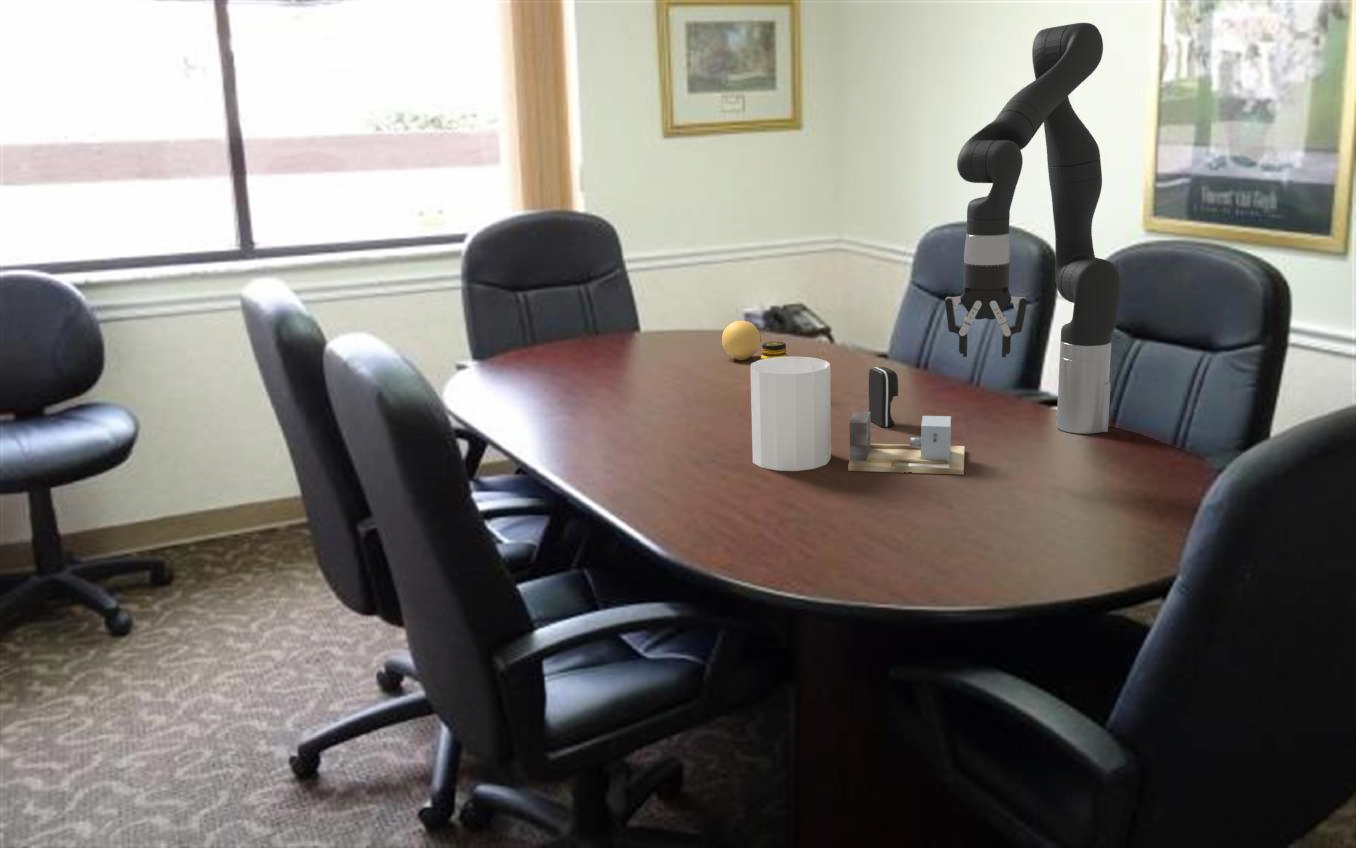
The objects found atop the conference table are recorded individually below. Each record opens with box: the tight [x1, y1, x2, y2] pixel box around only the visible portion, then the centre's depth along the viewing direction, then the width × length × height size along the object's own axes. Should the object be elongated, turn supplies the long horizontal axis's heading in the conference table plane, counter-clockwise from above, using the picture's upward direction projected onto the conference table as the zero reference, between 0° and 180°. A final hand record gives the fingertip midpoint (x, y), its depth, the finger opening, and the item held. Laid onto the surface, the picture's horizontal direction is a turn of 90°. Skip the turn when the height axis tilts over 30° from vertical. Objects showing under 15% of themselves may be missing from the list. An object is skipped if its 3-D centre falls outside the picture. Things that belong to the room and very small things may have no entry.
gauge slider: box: [909, 415, 952, 462], centre depth 212 cm, size 7×10×6 cm, turn 166°
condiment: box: [760, 340, 789, 360], centre depth 266 cm, size 7×8×12 cm
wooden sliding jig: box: [847, 410, 965, 475], centre depth 215 cm, size 20×14×8 cm
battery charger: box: [868, 366, 899, 428], centre depth 239 cm, size 7×4×11 cm, turn 16°
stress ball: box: [721, 319, 762, 361], centre depth 303 cm, size 10×10×10 cm
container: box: [749, 355, 832, 472], centre depth 217 cm, size 14×14×18 cm
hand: (984, 355), depth 207 cm, fingers open, 6 cm apart
